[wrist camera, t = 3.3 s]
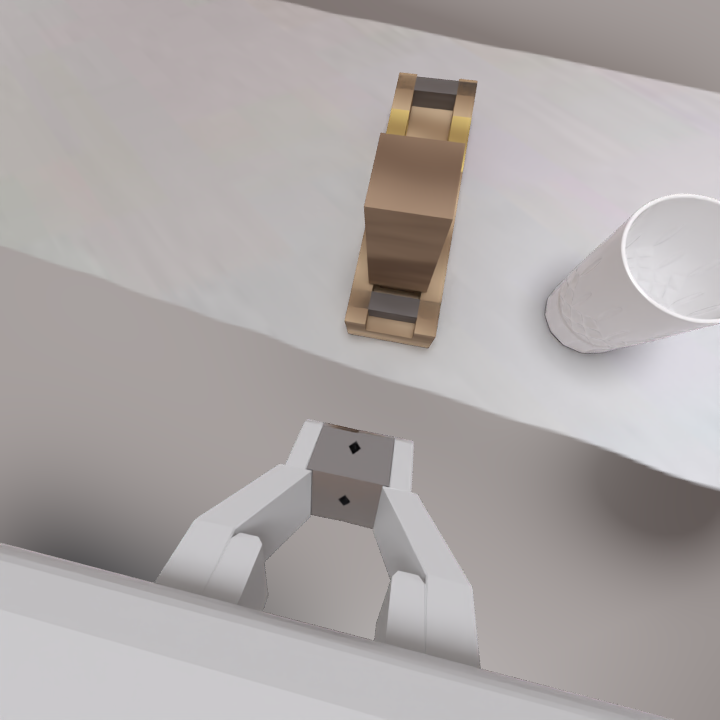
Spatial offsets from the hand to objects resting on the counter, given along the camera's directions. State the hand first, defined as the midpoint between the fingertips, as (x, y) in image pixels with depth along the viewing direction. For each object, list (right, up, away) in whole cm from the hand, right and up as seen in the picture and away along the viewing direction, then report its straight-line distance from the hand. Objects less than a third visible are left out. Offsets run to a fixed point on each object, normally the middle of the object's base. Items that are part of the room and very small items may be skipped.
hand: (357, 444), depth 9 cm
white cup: (+19, +6, +19) cm, 28 cm away
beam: (+5, +16, +21) cm, 27 cm away
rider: (+3, +10, +18) cm, 21 cm away
